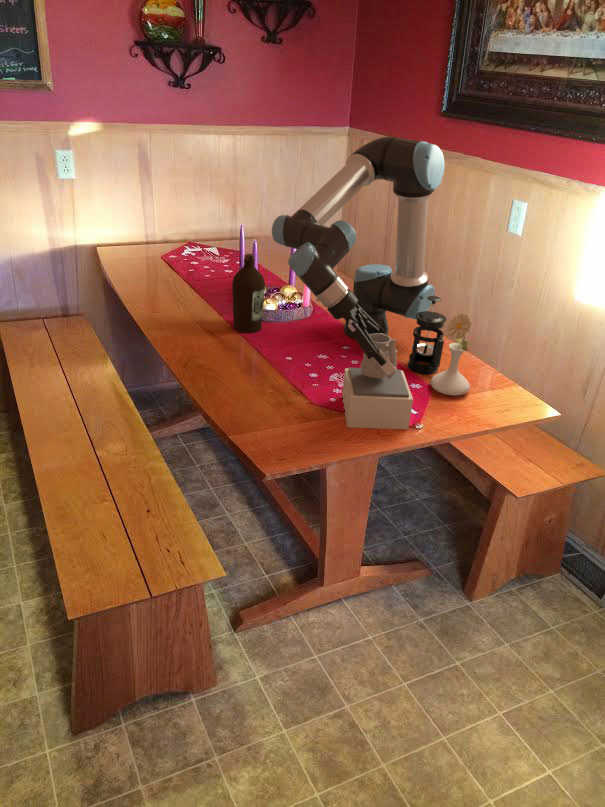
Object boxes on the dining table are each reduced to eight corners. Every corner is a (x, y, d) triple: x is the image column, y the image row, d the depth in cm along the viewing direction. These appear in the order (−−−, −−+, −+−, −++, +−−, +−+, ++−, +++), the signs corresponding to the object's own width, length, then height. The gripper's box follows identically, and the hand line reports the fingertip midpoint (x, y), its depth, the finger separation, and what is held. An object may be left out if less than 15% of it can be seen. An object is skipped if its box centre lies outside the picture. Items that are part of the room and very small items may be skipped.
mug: (377, 363, 180) (383, 322, 174) (404, 382, 172) (411, 340, 166) (354, 368, 177) (359, 326, 171) (380, 388, 168) (386, 345, 162)
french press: (399, 362, 208) (410, 293, 196) (423, 358, 212) (435, 289, 201) (423, 379, 199) (435, 307, 188) (447, 373, 203) (461, 303, 192)
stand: (341, 396, 187) (345, 365, 182) (398, 399, 188) (403, 368, 183) (347, 427, 173) (351, 394, 168) (408, 429, 174) (413, 396, 169)
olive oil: (225, 328, 222) (225, 255, 209) (242, 318, 230) (244, 247, 218) (252, 336, 218) (254, 262, 205) (269, 326, 226) (272, 254, 213)
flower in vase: (427, 379, 199) (441, 300, 187) (465, 381, 199) (481, 303, 187) (433, 400, 188) (448, 318, 176) (473, 403, 188) (491, 321, 176)
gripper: (330, 292, 177) (382, 352, 184) (320, 324, 158) (379, 391, 164) (352, 275, 174) (404, 337, 180) (345, 306, 155) (404, 374, 161)
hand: (392, 362), depth 172 cm, fingers closed on mug, 10 cm apart
